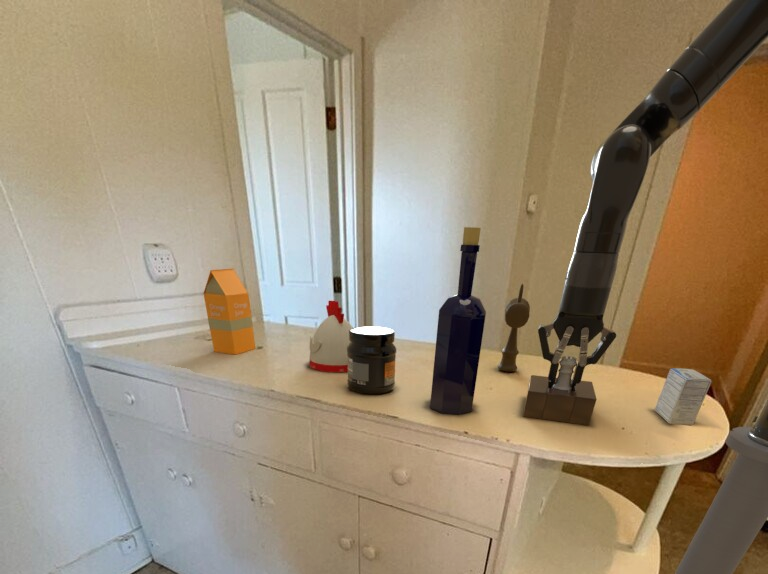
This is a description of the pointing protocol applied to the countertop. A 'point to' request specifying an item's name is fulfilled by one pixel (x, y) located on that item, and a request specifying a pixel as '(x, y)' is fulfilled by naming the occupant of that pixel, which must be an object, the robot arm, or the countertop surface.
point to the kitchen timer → (331, 342)
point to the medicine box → (682, 396)
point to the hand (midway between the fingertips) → (563, 383)
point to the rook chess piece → (565, 373)
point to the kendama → (514, 330)
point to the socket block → (559, 401)
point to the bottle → (459, 338)
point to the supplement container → (371, 360)
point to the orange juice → (228, 312)
